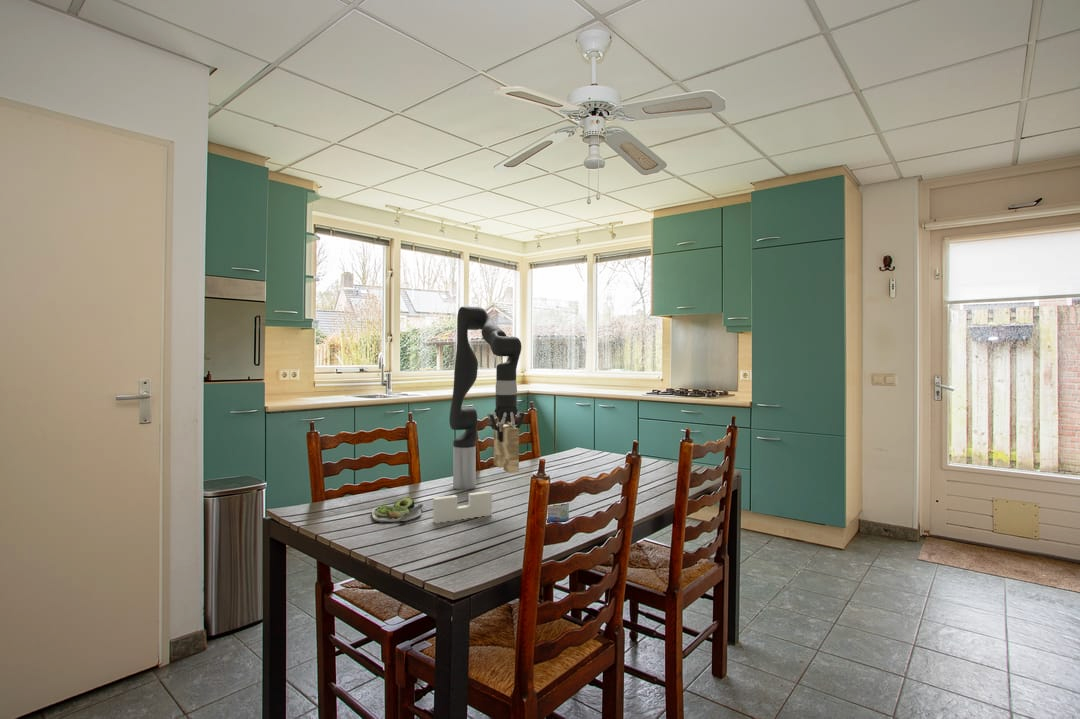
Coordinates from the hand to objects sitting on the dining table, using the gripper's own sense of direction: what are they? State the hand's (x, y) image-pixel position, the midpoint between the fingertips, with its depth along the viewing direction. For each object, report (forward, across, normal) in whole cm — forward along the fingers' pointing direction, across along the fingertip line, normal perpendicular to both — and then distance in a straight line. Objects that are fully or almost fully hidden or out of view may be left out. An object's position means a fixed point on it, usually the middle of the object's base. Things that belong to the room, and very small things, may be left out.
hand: (505, 441), depth 192 cm
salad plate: (+26, +35, -13) cm, 45 cm away
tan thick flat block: (+10, 0, 0) cm, 10 cm away
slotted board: (+25, +16, +1) cm, 30 cm away
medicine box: (+25, -12, +16) cm, 32 cm away
